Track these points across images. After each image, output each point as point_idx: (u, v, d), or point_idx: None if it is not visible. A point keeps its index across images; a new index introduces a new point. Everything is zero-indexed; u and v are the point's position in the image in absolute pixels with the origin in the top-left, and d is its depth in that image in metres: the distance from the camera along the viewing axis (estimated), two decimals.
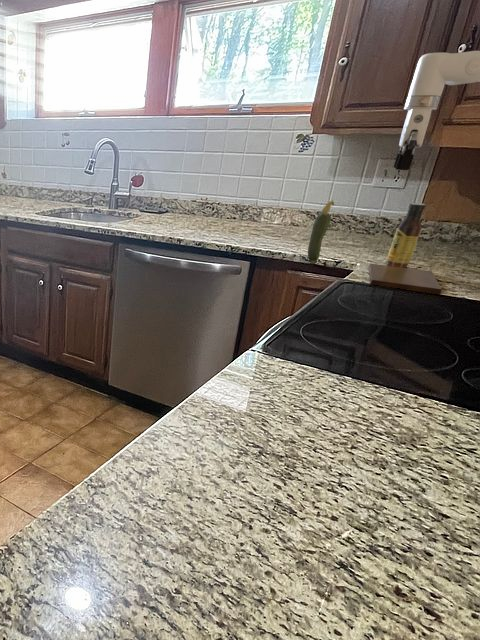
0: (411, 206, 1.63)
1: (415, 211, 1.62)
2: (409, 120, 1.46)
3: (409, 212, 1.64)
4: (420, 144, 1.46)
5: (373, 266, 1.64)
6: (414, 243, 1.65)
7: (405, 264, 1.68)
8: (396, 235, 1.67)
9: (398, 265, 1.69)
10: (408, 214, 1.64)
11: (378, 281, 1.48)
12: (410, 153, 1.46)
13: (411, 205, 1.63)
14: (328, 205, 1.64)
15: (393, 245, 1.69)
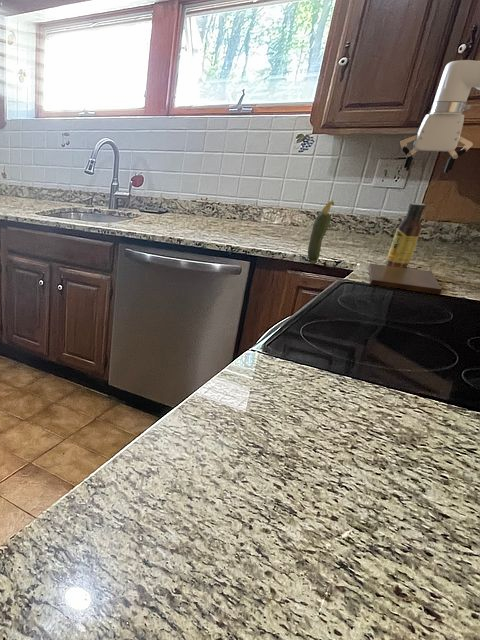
0: (411, 206, 1.63)
1: (415, 211, 1.62)
2: (461, 125, 1.50)
3: (409, 212, 1.64)
4: None
5: (373, 266, 1.64)
6: (414, 243, 1.65)
7: (405, 264, 1.68)
8: (396, 235, 1.67)
9: (398, 265, 1.69)
10: (408, 214, 1.64)
11: (378, 281, 1.48)
12: None
13: (411, 205, 1.63)
14: (328, 205, 1.64)
15: (393, 245, 1.69)
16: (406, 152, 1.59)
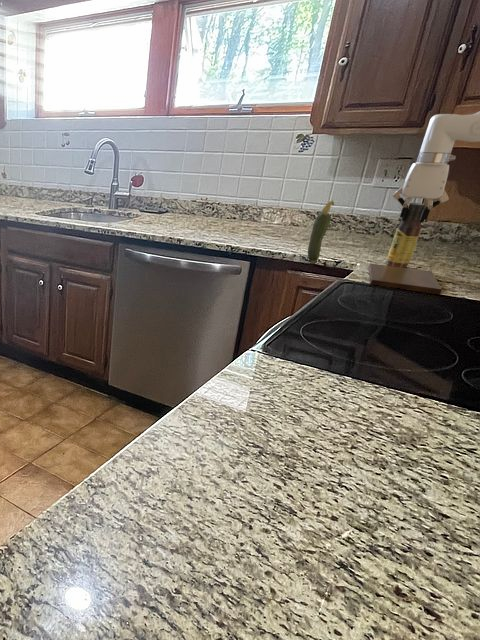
0: (411, 206, 1.63)
1: (415, 211, 1.62)
2: (446, 175, 1.56)
3: (409, 212, 1.64)
4: None
5: (373, 266, 1.64)
6: (414, 243, 1.65)
7: (405, 264, 1.68)
8: (396, 235, 1.67)
9: (398, 265, 1.69)
10: (408, 214, 1.64)
11: (378, 281, 1.48)
12: None
13: (411, 205, 1.63)
14: (328, 205, 1.64)
15: (393, 245, 1.69)
16: (402, 203, 1.64)
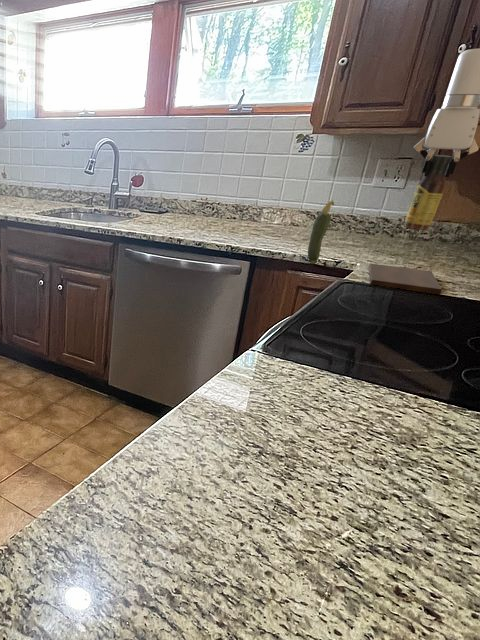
0: (435, 158, 1.43)
1: (440, 164, 1.42)
2: (476, 121, 1.36)
3: (432, 165, 1.44)
4: None
5: (373, 266, 1.64)
6: (437, 201, 1.46)
7: (426, 226, 1.49)
8: (417, 192, 1.48)
9: (418, 227, 1.49)
10: (431, 168, 1.44)
11: (378, 281, 1.48)
12: None
13: (435, 157, 1.43)
14: (328, 205, 1.64)
15: (413, 204, 1.49)
16: (425, 155, 1.45)
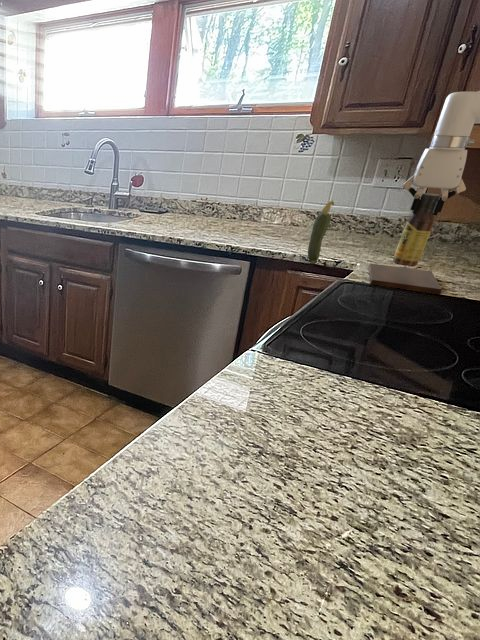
0: (424, 196, 1.44)
1: (428, 203, 1.44)
2: (464, 162, 1.38)
3: (421, 203, 1.45)
4: None
5: (373, 266, 1.64)
6: (425, 239, 1.47)
7: (415, 262, 1.50)
8: (405, 229, 1.49)
9: (407, 263, 1.51)
10: (420, 206, 1.46)
11: (378, 281, 1.48)
12: None
13: (423, 196, 1.45)
14: (328, 205, 1.64)
15: (402, 241, 1.50)
16: (413, 193, 1.46)
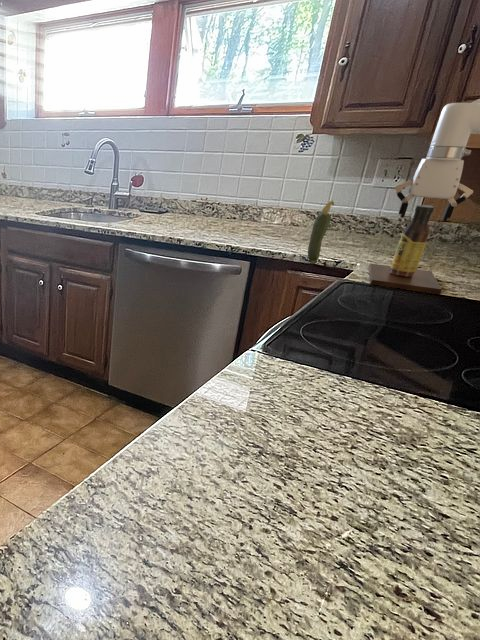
0: (418, 208, 1.46)
1: (423, 214, 1.45)
2: (460, 172, 1.39)
3: (416, 215, 1.47)
4: None
5: (373, 266, 1.64)
6: (421, 250, 1.49)
7: (411, 273, 1.52)
8: (401, 241, 1.51)
9: (403, 274, 1.52)
10: (415, 217, 1.47)
11: (378, 281, 1.48)
12: None
13: (418, 207, 1.46)
14: (328, 205, 1.64)
15: (398, 252, 1.52)
16: (401, 198, 1.48)
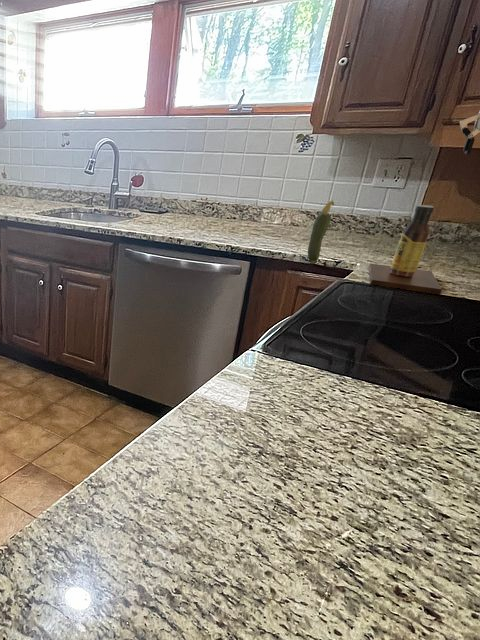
0: (418, 208, 1.46)
1: (423, 214, 1.45)
2: None
3: (416, 215, 1.47)
4: None
5: (373, 266, 1.64)
6: (421, 250, 1.49)
7: (411, 273, 1.52)
8: (401, 241, 1.51)
9: (403, 274, 1.52)
10: (415, 217, 1.47)
11: (378, 281, 1.48)
12: None
13: (418, 207, 1.46)
14: (328, 205, 1.64)
15: (398, 252, 1.52)
16: (467, 133, 1.44)
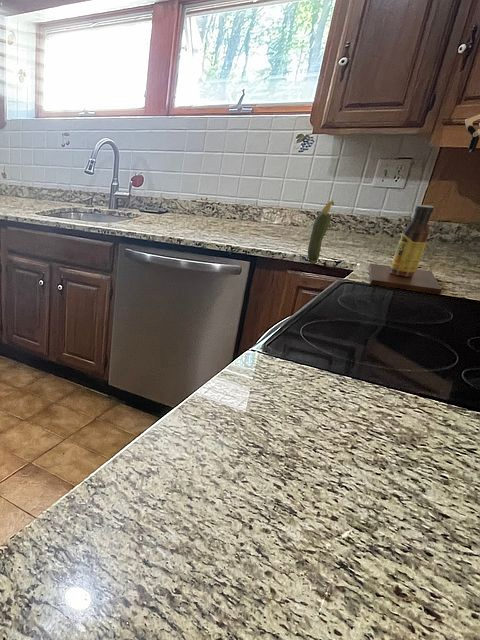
0: (418, 208, 1.46)
1: (423, 214, 1.45)
2: None
3: (416, 215, 1.47)
4: None
5: (373, 266, 1.64)
6: (421, 250, 1.49)
7: (411, 273, 1.52)
8: (401, 241, 1.51)
9: (403, 274, 1.52)
10: (415, 217, 1.47)
11: (378, 281, 1.48)
12: None
13: (418, 207, 1.46)
14: (328, 205, 1.64)
15: (398, 252, 1.52)
16: (472, 132, 1.44)
